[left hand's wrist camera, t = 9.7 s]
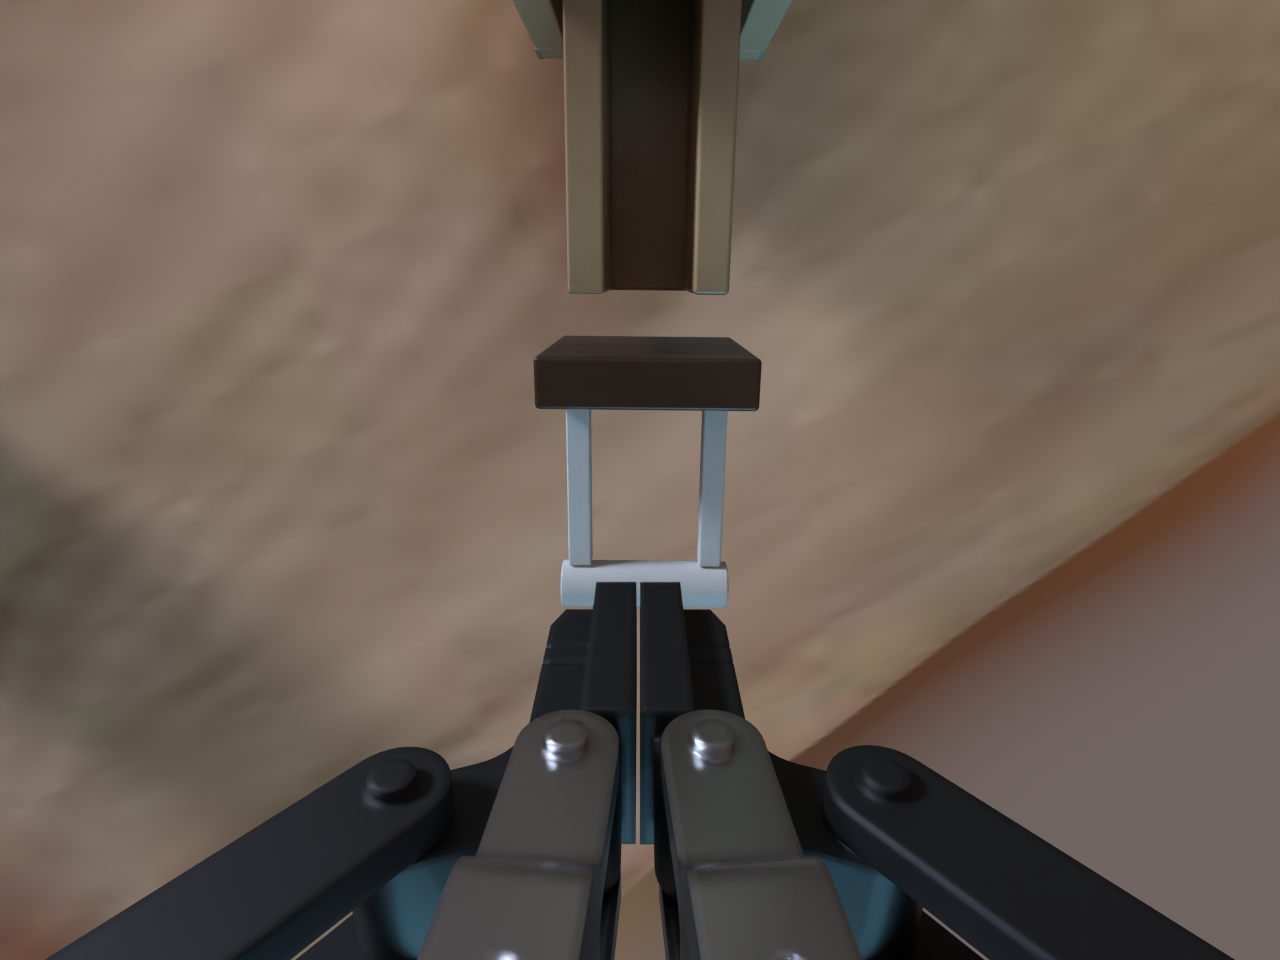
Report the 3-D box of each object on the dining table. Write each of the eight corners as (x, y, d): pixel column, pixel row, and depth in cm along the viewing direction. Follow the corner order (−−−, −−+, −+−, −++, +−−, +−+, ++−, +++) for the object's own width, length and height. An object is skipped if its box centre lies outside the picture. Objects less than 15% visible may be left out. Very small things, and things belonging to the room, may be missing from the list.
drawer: (721, 552, 23) (746, 639, 18) (566, 550, 23) (541, 637, 18) (759, -289, 17) (816, -566, 12) (549, -291, 17) (502, -568, 12)
